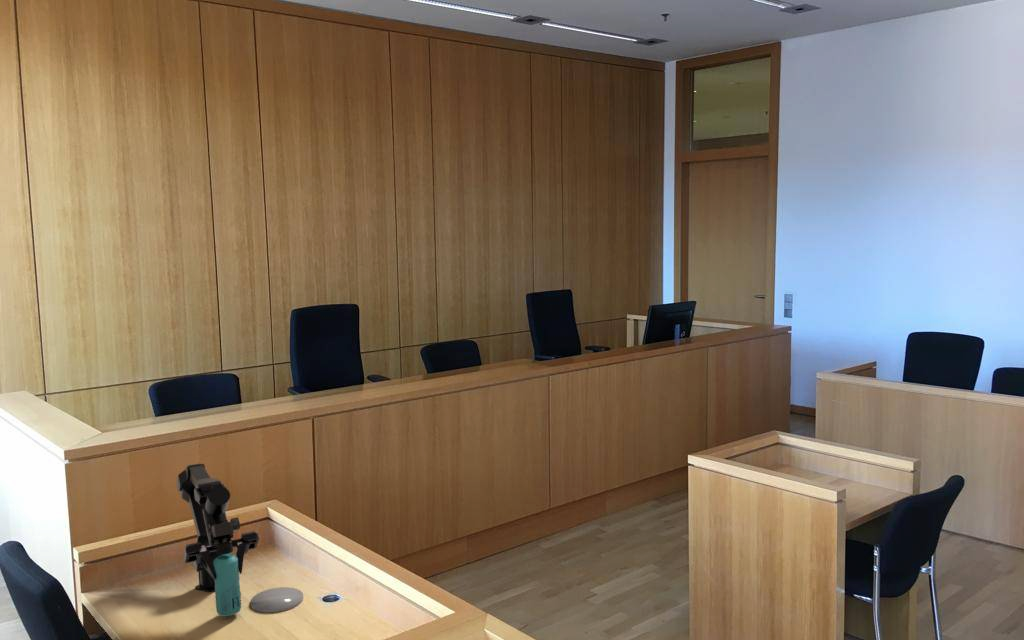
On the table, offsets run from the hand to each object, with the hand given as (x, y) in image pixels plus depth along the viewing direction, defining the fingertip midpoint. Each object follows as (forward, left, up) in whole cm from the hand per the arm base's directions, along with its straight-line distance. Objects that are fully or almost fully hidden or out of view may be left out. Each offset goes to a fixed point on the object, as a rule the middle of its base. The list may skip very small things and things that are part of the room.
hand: (228, 576), depth 218 cm
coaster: (+5, +13, -12) cm, 18 cm away
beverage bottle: (-1, +1, -12) cm, 12 cm away
